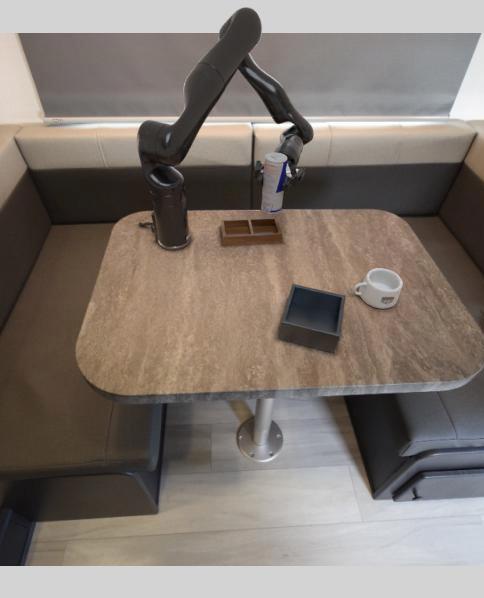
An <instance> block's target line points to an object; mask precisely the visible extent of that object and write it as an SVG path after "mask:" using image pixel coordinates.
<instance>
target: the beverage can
mask: <svg viewBox="0 0 484 598" xmlns="http://www.w3.org/2000/svg"><path fill="white" fill-rule="evenodd" d="M263 164H264V169H263V170H264V177H263V185H262V189H261V190H262V191H261V204H260V205H261V207H260V209H261V211H262V212H263V213H265V214H267V215H276V214H279V213H280V212H281V211H282V209H283V208H282V207H283V201H284V200H283V199H284V193H285V191H282V186H283V182H284V180H285V176H286V168H287V156H286V155H284V154H282V153H275V152H274V151H273V152H268V153H267V154H265V156H264V163H263Z"/></svg>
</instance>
